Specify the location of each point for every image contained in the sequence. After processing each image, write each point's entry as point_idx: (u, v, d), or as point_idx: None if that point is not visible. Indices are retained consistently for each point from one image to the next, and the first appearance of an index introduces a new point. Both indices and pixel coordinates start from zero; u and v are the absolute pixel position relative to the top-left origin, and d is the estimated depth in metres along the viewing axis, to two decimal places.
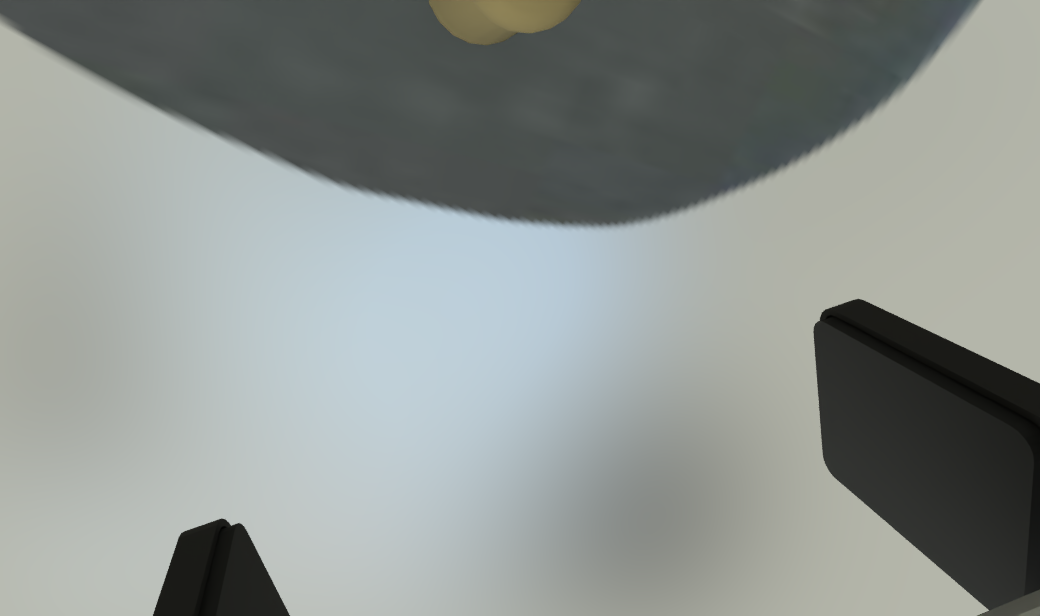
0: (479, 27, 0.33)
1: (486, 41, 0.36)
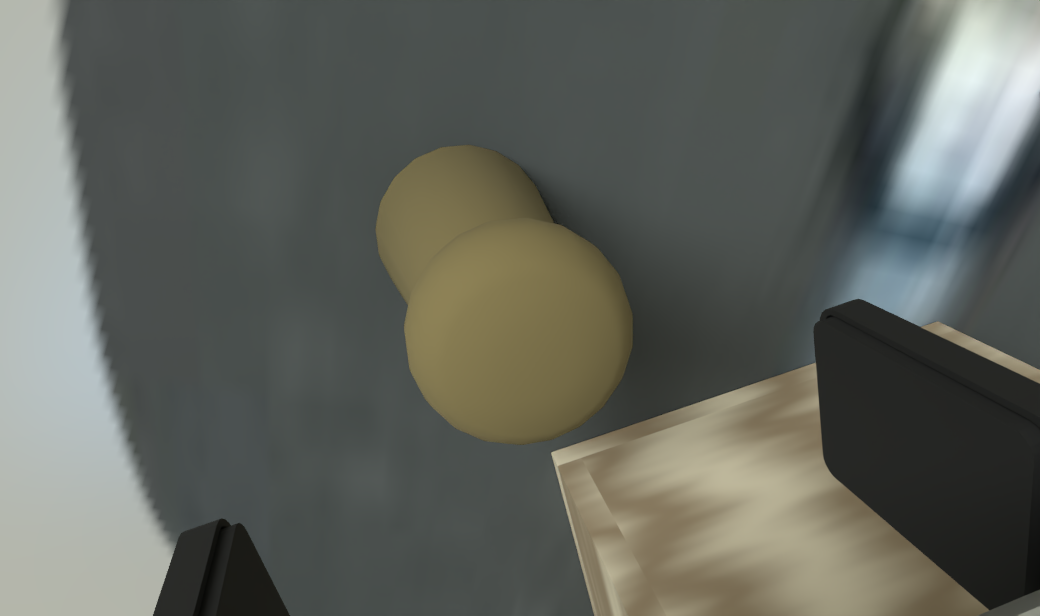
0: (399, 251, 0.20)
1: (383, 257, 0.23)
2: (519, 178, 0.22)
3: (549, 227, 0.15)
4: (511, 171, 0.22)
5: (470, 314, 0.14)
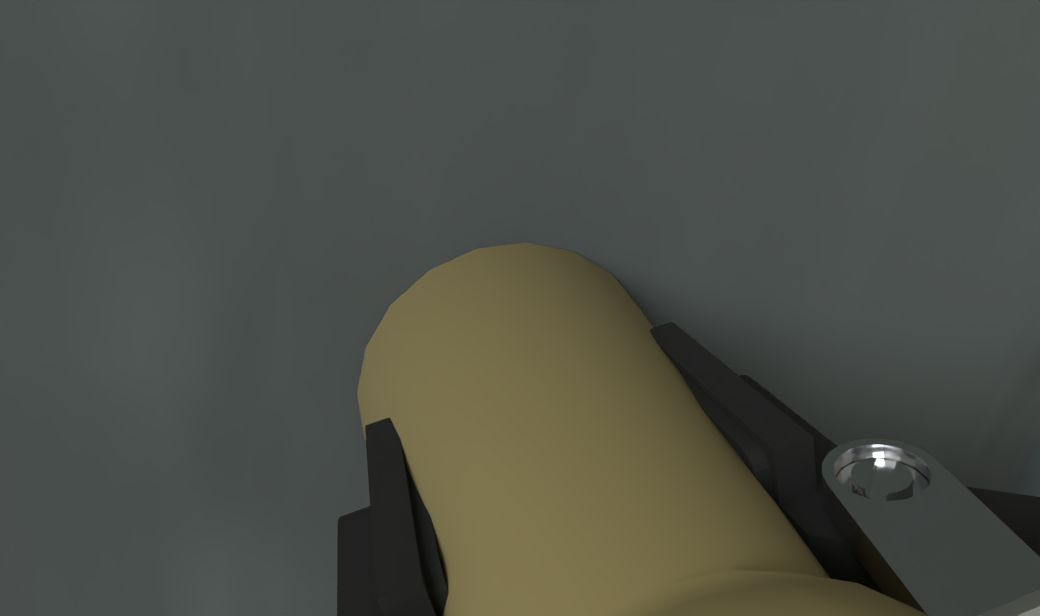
0: None
1: None
2: (633, 318, 0.11)
3: None
4: (616, 302, 0.11)
5: None
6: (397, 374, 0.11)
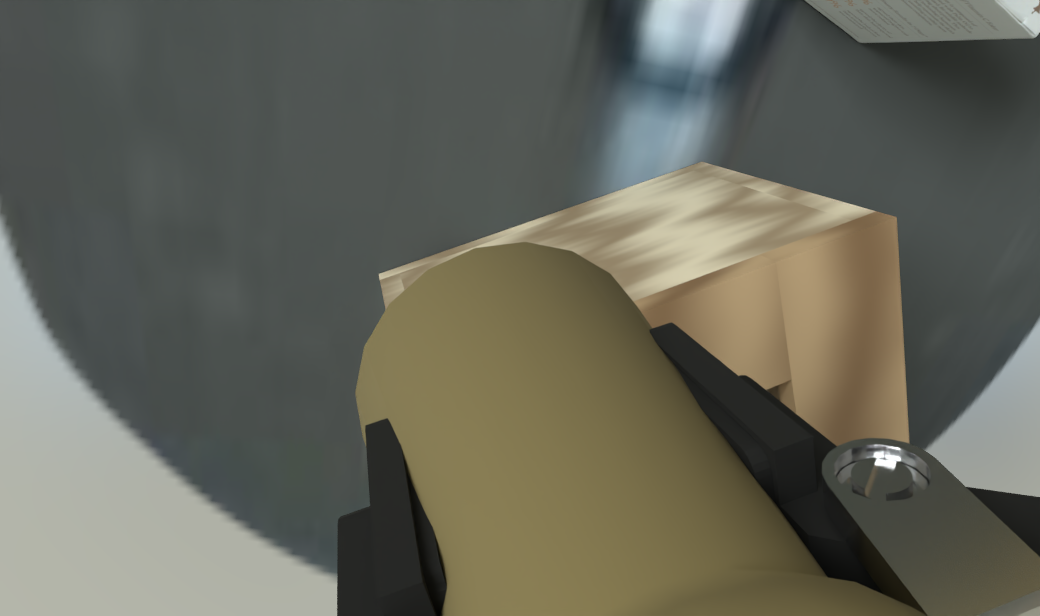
0: None
1: None
2: (632, 317, 0.11)
3: None
4: (614, 302, 0.11)
5: None
6: (395, 373, 0.11)
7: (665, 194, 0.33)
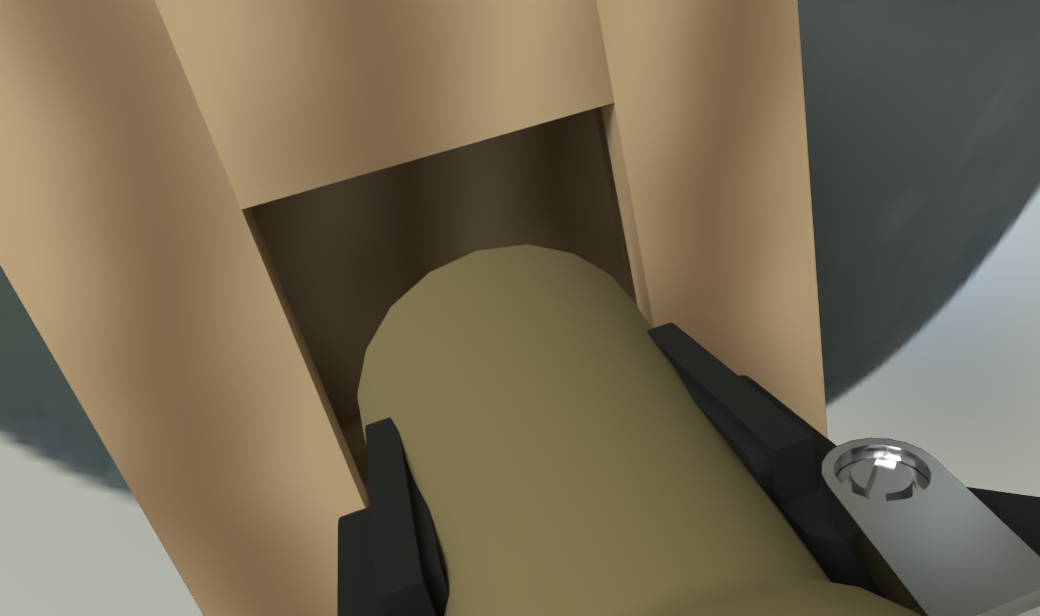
0: None
1: None
2: (633, 320, 0.11)
3: None
4: (616, 304, 0.12)
5: None
6: (397, 376, 0.11)
7: None
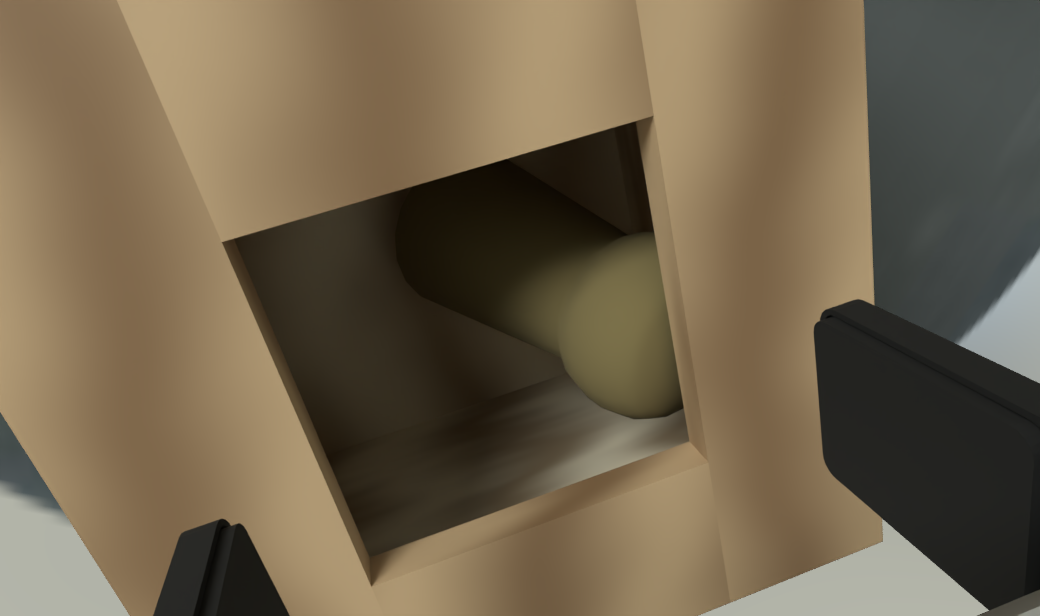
0: (474, 260, 0.21)
1: (415, 262, 0.23)
2: None
3: None
4: None
5: (663, 319, 0.17)
6: (440, 213, 0.22)
7: None
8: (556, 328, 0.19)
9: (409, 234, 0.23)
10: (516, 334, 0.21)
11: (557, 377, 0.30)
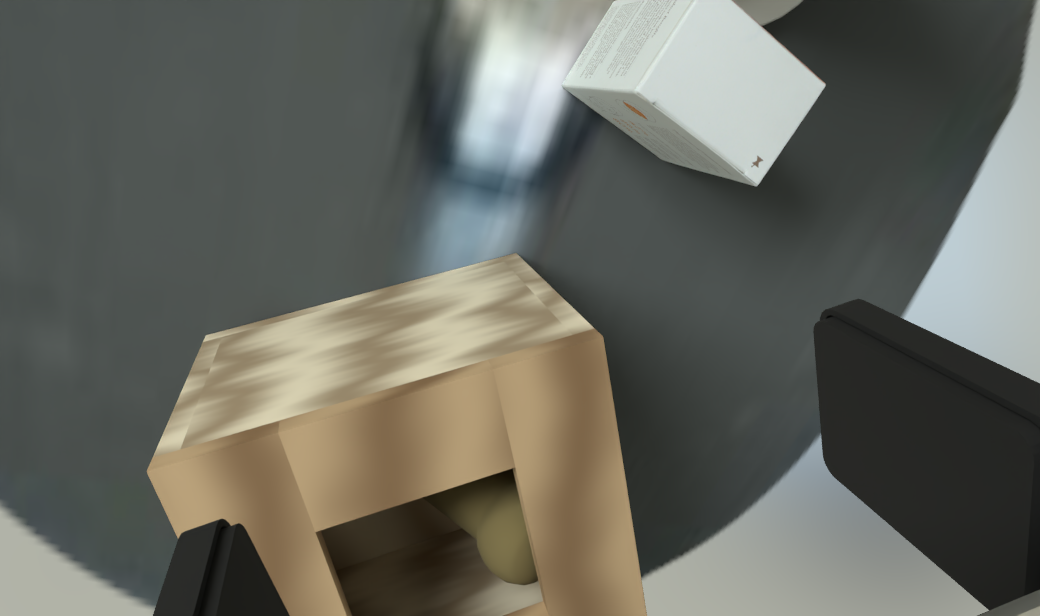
0: None
1: None
2: None
3: None
4: None
5: (528, 541, 0.32)
6: None
7: (467, 284, 0.38)
8: (476, 531, 0.35)
9: None
10: None
11: None
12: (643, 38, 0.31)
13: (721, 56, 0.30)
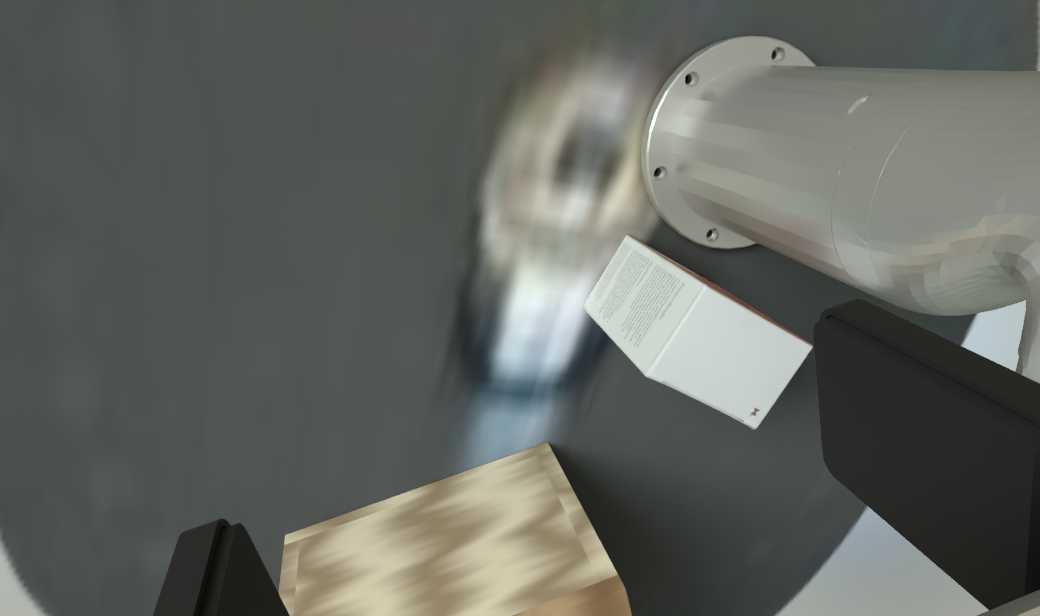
0: None
1: None
2: None
3: None
4: None
5: None
6: None
7: (506, 487, 0.43)
8: None
9: None
10: None
11: None
12: (652, 313, 0.36)
13: (719, 340, 0.35)
